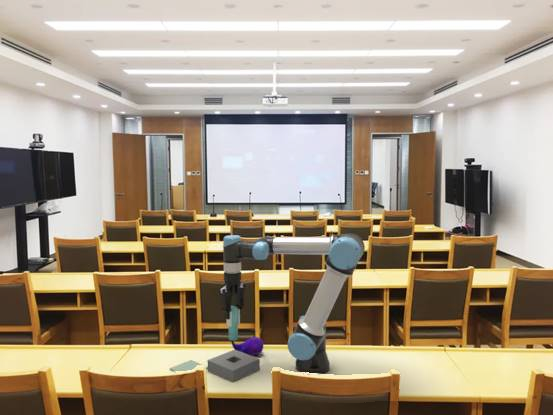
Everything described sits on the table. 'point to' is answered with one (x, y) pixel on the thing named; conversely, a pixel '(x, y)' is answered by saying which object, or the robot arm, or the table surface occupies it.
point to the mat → (186, 366)
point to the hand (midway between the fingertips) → (233, 324)
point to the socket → (233, 365)
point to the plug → (234, 324)
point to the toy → (250, 346)
